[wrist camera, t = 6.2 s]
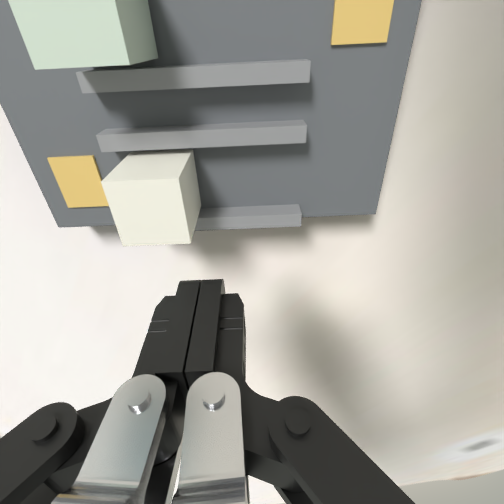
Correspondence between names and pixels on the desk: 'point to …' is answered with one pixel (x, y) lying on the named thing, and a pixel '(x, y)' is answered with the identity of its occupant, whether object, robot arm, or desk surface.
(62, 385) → the desk surface
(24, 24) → the pale green block
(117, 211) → the cream tab
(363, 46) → the switch panel
